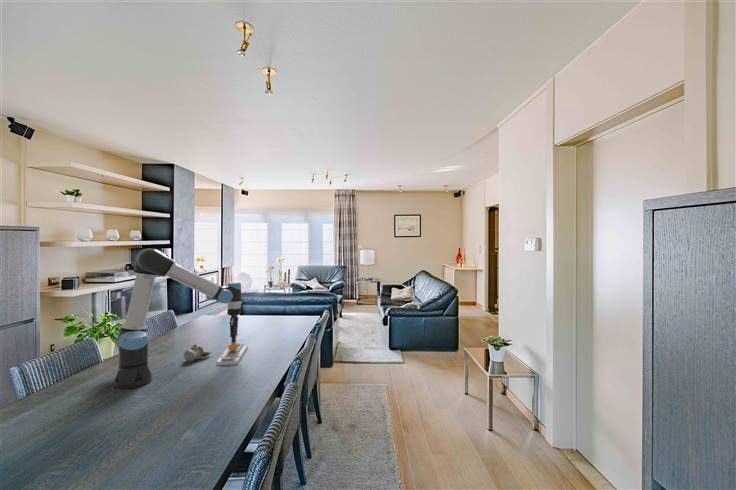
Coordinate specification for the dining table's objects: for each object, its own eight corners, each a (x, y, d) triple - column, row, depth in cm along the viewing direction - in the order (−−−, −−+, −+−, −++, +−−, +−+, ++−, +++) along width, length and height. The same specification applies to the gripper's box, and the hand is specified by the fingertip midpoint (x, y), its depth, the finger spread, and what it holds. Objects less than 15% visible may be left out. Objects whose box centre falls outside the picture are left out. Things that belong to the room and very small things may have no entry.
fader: (236, 353, 207) (237, 344, 207) (228, 353, 207) (228, 344, 207) (238, 351, 210) (238, 343, 210) (229, 351, 210) (229, 343, 210)
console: (237, 364, 194) (237, 358, 194) (216, 365, 193) (216, 359, 193) (247, 348, 224) (247, 343, 224) (229, 348, 222) (229, 343, 222)
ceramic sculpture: (178, 346, 197) (197, 341, 212) (177, 362, 197) (197, 355, 211) (194, 348, 194) (212, 342, 209) (193, 364, 194) (211, 357, 208)
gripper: (238, 309, 205) (238, 350, 205) (242, 305, 218) (242, 343, 218) (225, 310, 204) (224, 350, 204) (230, 306, 216) (229, 344, 216)
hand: (233, 347), depth 211 cm, fingers closed
